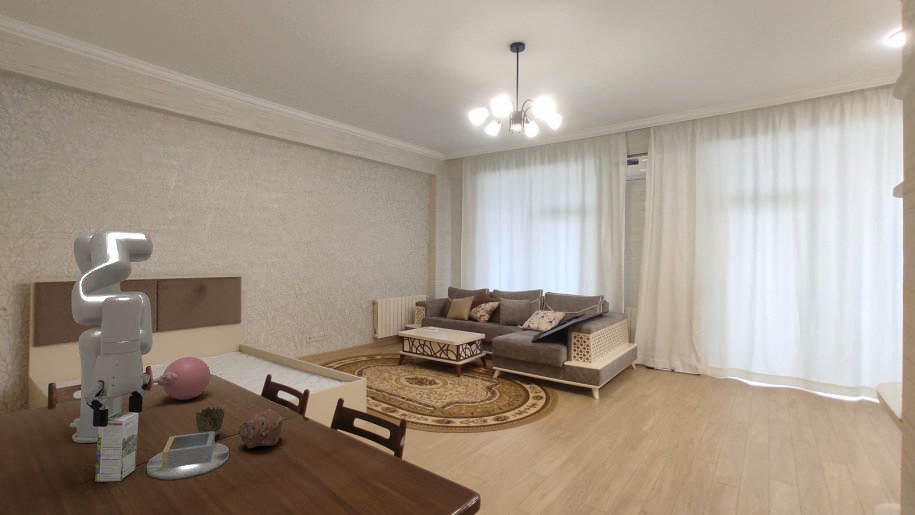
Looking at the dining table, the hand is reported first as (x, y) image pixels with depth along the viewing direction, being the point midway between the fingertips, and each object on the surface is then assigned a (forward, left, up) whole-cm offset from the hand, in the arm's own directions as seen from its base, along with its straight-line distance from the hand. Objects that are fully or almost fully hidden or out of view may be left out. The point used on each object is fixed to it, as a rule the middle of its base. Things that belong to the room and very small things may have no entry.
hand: (118, 418), depth 105 cm
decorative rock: (+24, +22, -14) cm, 35 cm away
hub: (+12, +9, -14) cm, 20 cm away
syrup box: (0, 0, -14) cm, 14 cm away
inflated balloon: (-25, +53, -14) cm, 61 cm away
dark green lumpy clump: (+7, +24, -14) cm, 29 cm away
